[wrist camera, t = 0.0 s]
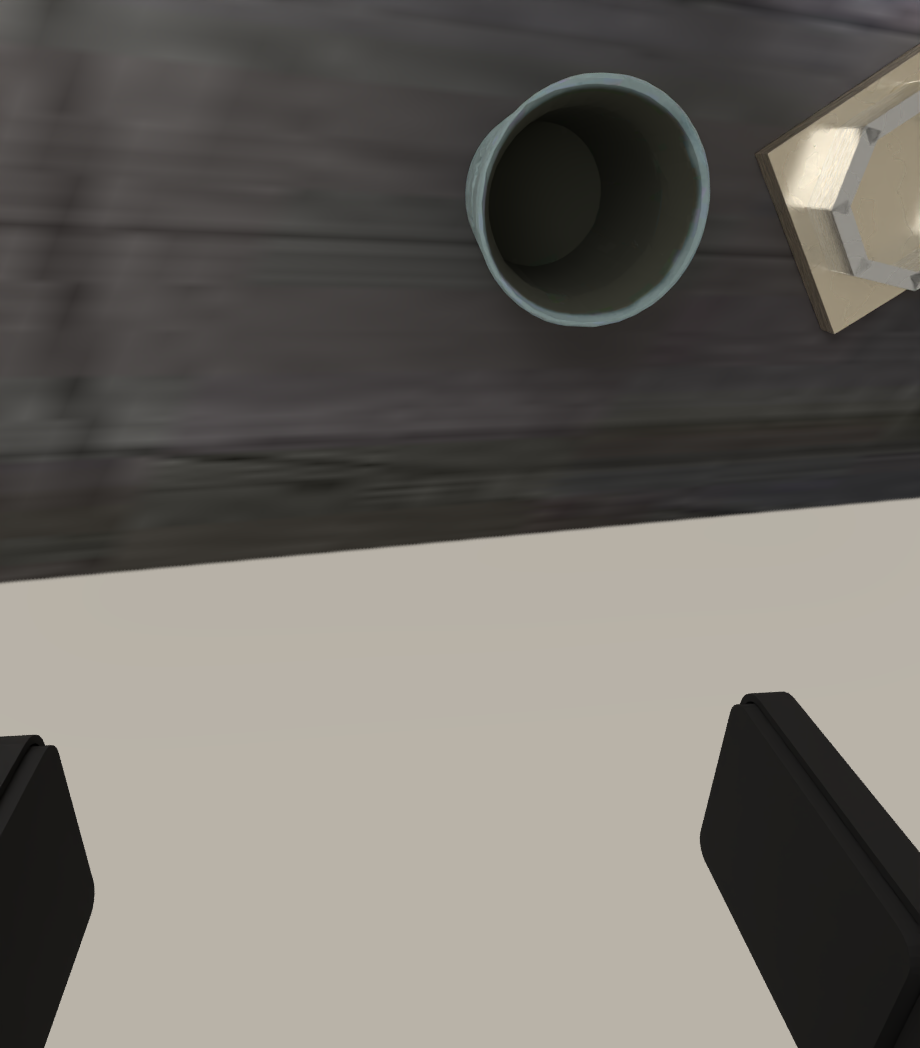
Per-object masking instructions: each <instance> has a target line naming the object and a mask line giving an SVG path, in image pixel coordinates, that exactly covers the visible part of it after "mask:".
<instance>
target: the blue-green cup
mask: <svg viewBox="0 0 920 1048" xmlns="http://www.w3.org/2000/svg"><path fill="white" fill-rule="evenodd" d="M465 199H466V210H467V216H468V220H469V223H470V226H471V228H472V231H473V234H474V236H475V238H476V240H477V243H478V245H479V247H480V250H481V251H482V254H483V256H484V259H485V261H486V264H487V266H488V268H489V270H490V272H491V273H492V275H493V277H494V279H495V280H496V282H497V283H498V284H499V285H500V287H501V288H502V289H503V291H504V292H505V293H506V294H507V295H508V296H509V297H510V298H511V299H512V300H513V301H514V302H515V303H516V304H517V305H519V306H520V307H521V308H523V309H524V310H526V311H527V312H529V313H530V314H532V315H534V316H536V317H538V318H540V319H542V320H544V321H546V322H550V323H554V324H558V325H564V326H579V327H597V326H602V325H606V324H611V323H616V322H620V321H622V320H624V319H627V318H629V317H632V316H634V315H636V314H638V313H639V312H641V311H643V310H645V309H646V308H648V307H650V306H651V305H653V304H654V303H655V302H656V301H658V300H659V299H660V298H662V297H663V296H664V295H665V294H666V293H667V292H668V291H669V290H670V288H671V287H672V286H673V285H674V284H675V283H676V282H677V281H678V280H679V278H680V277H681V276H682V274H683V273H684V272H685V270H686V268H687V267H688V265H689V264H690V262H691V260H692V258H693V256H694V255H695V253H696V250H697V248H698V246H699V244H700V241H701V238H702V235H703V233H704V228H705V224H706V220H707V215H708V211H709V203H710V176H709V168H708V163H707V158H706V154H705V150H704V148H703V145H702V143H701V140H700V138H699V135H698V133H697V131H696V129H695V127H694V126H693V124H692V122H691V121H690V119H689V118H688V116H687V115H686V113H685V112H684V111H683V110H682V109H681V107H680V106H679V105H678V104H677V103H676V102H675V101H674V100H673V99H671V98H670V97H669V96H668V95H667V94H666V93H665V92H663V91H662V90H660V89H658V88H656V87H655V86H653V85H651V84H650V83H648V82H646V81H644V80H641V79H638V78H635V77H632V76H629V75H623V74H613V73H585V74H581V75H576V76H572V77H568V78H566V79H563V80H561V81H558V82H556V83H554V84H551V85H549V86H548V87H546V88H544V89H542V90H541V91H539V92H537V93H536V94H534V95H533V96H532V97H530V98H529V99H528V100H527V101H525V102H524V103H523V104H522V105H521V106H520V107H519V108H518V109H517V110H516V111H515V112H514V113H513V114H511V115H510V116H508V117H507V118H506V119H505V120H503V121H502V122H501V123H499V124H498V125H497V126H496V127H494V128H493V129H492V131H491V132H490V133H489V134H488V135H487V136H486V137H485V139H484V140H483V141H482V142H481V144H480V146H479V148H478V149H477V151H476V153H475V155H474V157H473V159H472V162H471V165H470V168H469V172H468V175H467V182H466V189H465Z"/></svg>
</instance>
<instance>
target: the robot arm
mask: <svg viewBox="0 0 920 1048" xmlns="http://www.w3.org/2000/svg"><path fill="white" fill-rule="evenodd" d="M700 845H701V851H702V854H703V857H704V860H705V862H706V864H707V866H708V868H709V870H710V872H711V874H712V876H713V878H714V880H715V882H716V884H717V886H718V888H719V890H720V892H721V894H722V896H723V898H724V900H725V902H726V904H727V906H728V908H729V910H730V912H731V914H732V916H733V918H734V920H735V922H736V924H737V926H738V929H739V931H740V932H741V935H742V937H743V939H744V941H745V943H746V945H747V947H748V948H749V951H750V953H751V954H752V957H753V959H754V960H755V963H756V965H757V967H758V969H759V970H760V973H761V975H762V977H763V979H764V981H765V983H766V985H767V987H768V989H769V991H770V993H771V995H772V997H773V999H774V1001H775V1003H776V1005H777V1007H778V1009H779V1011H780V1013H781V1015H782V1017H783V1019H784V1021H785V1023H786V1025H787V1027H788V1029H789V1031H790V1033H791V1035H792V1037H793V1039H794V1041H795V1043H796V1045H797V1047H798V1048H920V852H919V851H918V850H917V848H916V847H915V846H914V845H913V844H912V843H911V841H910V840H909V839H908V837H907V836H906V835H905V834H904V833H903V831H902V830H901V829H900V828H899V826H898V825H897V824H896V823H895V821H894V820H893V819H892V818H891V817H890V815H889V814H888V813H887V812H886V810H884V808H883V807H882V806H881V804H880V803H879V802H878V801H877V799H876V798H875V797H874V796H873V795H872V793H871V792H870V791H869V790H868V788H867V787H866V786H865V785H864V783H863V782H862V781H861V780H860V778H859V777H858V776H857V775H856V774H855V772H854V771H853V770H852V769H851V767H850V766H849V765H848V764H847V763H846V761H845V760H844V759H843V758H842V756H841V755H840V754H839V753H838V751H837V750H836V749H835V748H834V747H833V745H832V744H831V743H830V742H829V740H828V739H827V738H826V737H825V736H824V734H823V733H822V732H821V731H820V730H819V728H818V727H817V726H816V724H815V723H814V722H813V721H812V720H811V718H810V717H809V716H808V715H807V713H806V712H805V711H804V710H803V709H802V707H801V706H800V705H799V704H798V702H797V701H796V700H795V699H794V698H793V697H792V696H791V695H790V694H789V693H786V692H769V693H751V694H746V695H745V696H744V697H743V698H742V700H741V703H740V704H737V705H734V706H733V707H732V709H731V712H730V716H729V719H728V723H727V727H726V732H725V735H724V740H723V744H722V748H721V752H720V756H719V760H718V764H717V768H716V772H715V776H714V780H713V784H712V788H711V792H710V796H709V800H708V804H707V808H706V812H705V817H704V820H703V824H702V828H701V832H700ZM93 903H94V882H93V878H92V875H91V871H90V867H89V864H88V860H87V856H86V852H85V849H84V845H83V842H82V838H81V834H80V830H79V826H78V823H77V819H76V815H75V812H74V808H73V804H72V800H71V797H70V793H69V790H68V786H67V782H66V778H65V775H64V771H63V767H62V764H61V760H60V756H59V753H58V750H57V748H56V747H55V746H53V745H48V746H47V745H46V746H45V744H44V742H43V739H42V738H41V737H40V736H39V735H22V736H4V737H0V1048H44V1046H45V1044H46V1041H47V1038H48V1035H49V1032H50V1029H51V1026H52V1024H53V1021H54V1018H55V1015H56V1012H57V1010H58V1007H59V1004H60V1001H61V998H62V995H63V992H64V990H65V987H66V984H67V981H68V978H69V975H70V973H71V970H72V967H73V964H74V961H75V958H76V956H77V952H78V950H79V947H80V944H81V941H82V938H83V936H84V933H85V930H86V927H87V924H88V921H89V919H90V916H91V912H92V909H93Z"/></svg>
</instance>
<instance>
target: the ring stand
mask: <svg viewBox="0 0 920 1048" xmlns="http://www.w3.org/2000/svg"><path fill="white" fill-rule="evenodd" d="M755 156H756V159H757V161H758V164H759V167H760V169H761V172H762V175H763V177H764V180H765V183H766V185H767V188H768V190H769V193H770V196H771V198H772V201H773V204H774V206H775V209H776V212H777V214H778V217H779V219H780V222H781V225H782V227H783V230H784V233H785V235H786V238H787V241H788V243H789V246H790V249H791V251H792V254H793V256H794V259H795V262H796V264H797V267H798V270H799V272H800V275H801V278H802V280H803V283H804V286H805V288H806V291H807V293H808V296H809V299H810V301H811V304H812V307H813V309H814V312H815V315H816V317H817V320H818V323H819V325H820V328H821V329H822V330H824V331H827V332H830V333H833V334H836V333H837V332H839V331H840V330H842V329H844V328H845V327H847V326H849V325H850V324H852V323H853V322H855V321H857V320H858V319H860V318H861V317H863V316H865V315H866V314H868V313H870V312H871V311H873V310H874V309H876V308H878V307H879V306H881V305H882V304H884V303H886V302H887V301H889V300H890V299H892V298H894V297H895V296H897V295H899V294H900V293H902V292H903V291H905V290H911V291H916V290H917V289H919V288H920V44H918V45H917V46H915V47H914V48H912V49H911V50H909V51H908V52H906V53H905V54H903V55H902V56H900V57H899V58H897V59H896V60H894V61H893V62H891V63H890V64H888V65H887V66H885V67H884V68H882V69H881V70H879V71H878V72H876V73H875V74H873V75H872V76H870V77H869V78H867V79H866V80H864V81H863V82H861V83H860V84H858V85H857V86H855V87H854V88H852V89H851V90H849V91H848V92H846V93H845V94H843V95H842V96H840V97H839V98H837V99H836V100H834V101H833V102H831V103H830V104H828V105H827V106H826V107H824V108H823V109H821V110H820V111H818V112H817V113H815V114H814V115H812V116H811V117H809V118H808V119H806V120H805V121H803V122H802V123H800V124H799V125H797V126H796V127H794V128H793V129H791V130H790V131H788V132H787V133H785V134H784V135H782V136H781V137H779V138H778V139H776V140H775V141H773V142H772V143H770V144H769V145H767V146H766V147H764V148H763V149H761V150H760V151H758V152H757V153H755Z"/></svg>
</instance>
